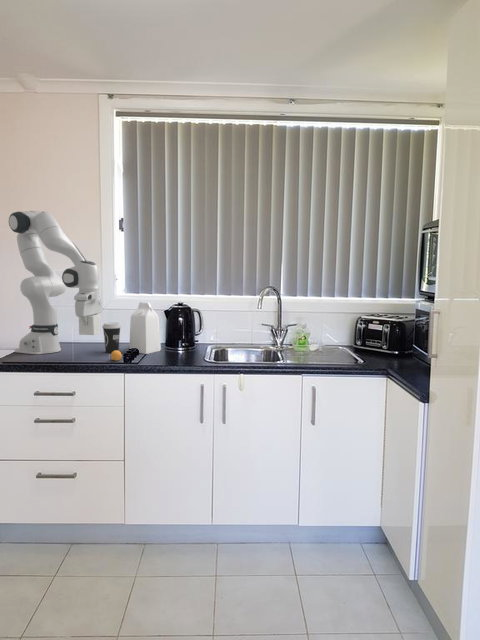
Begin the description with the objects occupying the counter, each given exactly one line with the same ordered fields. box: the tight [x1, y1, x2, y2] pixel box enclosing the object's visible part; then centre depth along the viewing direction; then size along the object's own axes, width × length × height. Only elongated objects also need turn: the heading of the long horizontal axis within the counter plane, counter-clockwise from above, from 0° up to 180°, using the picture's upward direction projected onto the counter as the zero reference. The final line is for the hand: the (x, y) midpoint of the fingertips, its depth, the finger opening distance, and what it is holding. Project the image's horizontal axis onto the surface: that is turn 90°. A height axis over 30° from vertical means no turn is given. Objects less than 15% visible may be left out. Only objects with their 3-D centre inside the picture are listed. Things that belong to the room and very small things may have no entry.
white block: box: [78, 314, 102, 336], centre depth 219 cm, size 7×7×9 cm
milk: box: [128, 301, 162, 355], centre depth 243 cm, size 12×12×26 cm
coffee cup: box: [101, 321, 122, 354], centre depth 240 cm, size 10×10×15 cm
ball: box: [110, 350, 122, 362], centre depth 219 cm, size 5×5×5 cm
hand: (89, 324), depth 219 cm, fingers closed on white block, 7 cm apart
